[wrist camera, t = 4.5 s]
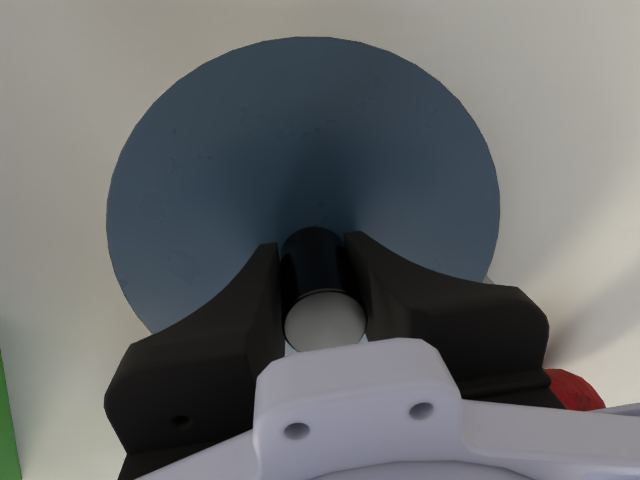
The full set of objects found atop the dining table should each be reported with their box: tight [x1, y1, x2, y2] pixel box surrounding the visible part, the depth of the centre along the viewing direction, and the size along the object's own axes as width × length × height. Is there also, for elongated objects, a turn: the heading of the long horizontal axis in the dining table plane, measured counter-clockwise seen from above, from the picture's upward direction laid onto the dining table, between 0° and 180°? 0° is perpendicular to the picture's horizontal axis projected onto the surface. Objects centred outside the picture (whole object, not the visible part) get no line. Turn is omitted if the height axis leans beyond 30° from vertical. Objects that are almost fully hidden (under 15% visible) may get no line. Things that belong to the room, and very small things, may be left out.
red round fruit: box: [543, 369, 606, 412], centre depth 29 cm, size 6×6×8 cm
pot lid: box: [106, 37, 500, 357], centre depth 13 cm, size 14×14×5 cm
